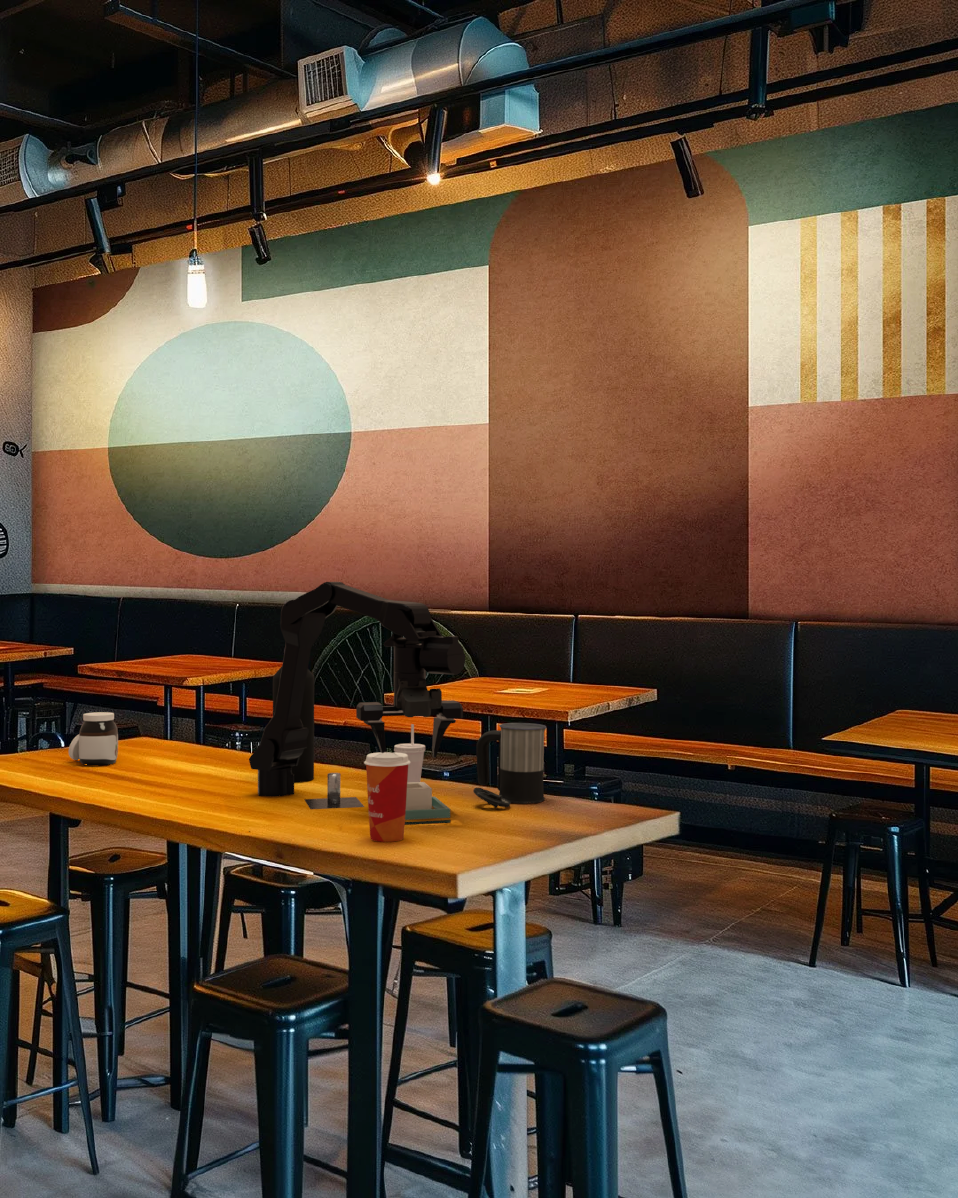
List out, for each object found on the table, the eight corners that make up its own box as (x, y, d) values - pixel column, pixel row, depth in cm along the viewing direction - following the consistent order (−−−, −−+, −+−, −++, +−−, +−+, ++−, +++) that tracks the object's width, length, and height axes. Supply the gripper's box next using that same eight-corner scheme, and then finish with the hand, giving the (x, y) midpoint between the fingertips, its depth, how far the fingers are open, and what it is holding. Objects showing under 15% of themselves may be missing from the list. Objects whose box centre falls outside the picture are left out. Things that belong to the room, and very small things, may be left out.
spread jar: (108, 767, 272) (108, 716, 272) (58, 767, 272) (58, 716, 272) (124, 759, 284) (124, 710, 284) (77, 759, 284) (77, 710, 284)
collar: (386, 810, 219) (386, 783, 219) (423, 808, 221) (423, 782, 221) (393, 818, 213) (393, 790, 212) (431, 816, 214) (431, 788, 214)
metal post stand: (310, 814, 219) (310, 779, 219) (304, 804, 229) (304, 770, 229) (364, 812, 222) (364, 777, 222) (355, 802, 231) (356, 768, 231)
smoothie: (420, 797, 238) (421, 726, 237) (389, 795, 239) (390, 725, 239) (428, 791, 244) (429, 722, 244) (398, 790, 245) (398, 721, 245)
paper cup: (364, 833, 203) (364, 751, 203) (409, 833, 204) (409, 751, 204) (363, 844, 195) (363, 758, 195) (410, 843, 196) (411, 758, 196)
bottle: (264, 781, 255) (265, 649, 254) (286, 774, 263) (286, 647, 262) (300, 784, 251) (301, 651, 251) (321, 777, 260) (321, 648, 259)
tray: (381, 826, 209) (381, 812, 209) (369, 812, 221) (369, 799, 221) (450, 823, 212) (450, 809, 212) (434, 809, 224) (434, 796, 224)
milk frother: (544, 796, 239) (544, 722, 239) (549, 811, 224) (549, 732, 223) (473, 795, 239) (473, 722, 239) (473, 811, 224) (473, 732, 223)
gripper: (366, 676, 206) (365, 766, 206) (470, 674, 211) (470, 763, 211) (355, 671, 217) (355, 757, 217) (455, 670, 222) (455, 754, 222)
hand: (409, 758), depth 217 cm, fingers open, 9 cm apart
